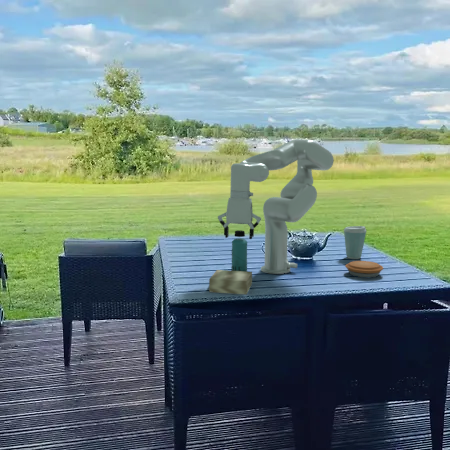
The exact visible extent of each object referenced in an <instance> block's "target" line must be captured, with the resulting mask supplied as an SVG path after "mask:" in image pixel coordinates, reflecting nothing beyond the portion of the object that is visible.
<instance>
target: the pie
mask: <svg viewBox="0 0 450 450" xmlns="http://www.w3.org/2000/svg"><path fill="white" fill-rule="evenodd" d="M344 266H345V268H346V269H347V270H348V273H349V274H350V275H351V276H353V275H354V276H353V277H355V276H358V277H357V278H361V277H373V278H376V276H377V277H378V276H379V275H380V274H381V272H382V271H383V270H384V266H382V265H381V264H380V263H377V262H374V261H369V260H353V261H350V262H349V263H347V264H345V265H344Z"/></svg>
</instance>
